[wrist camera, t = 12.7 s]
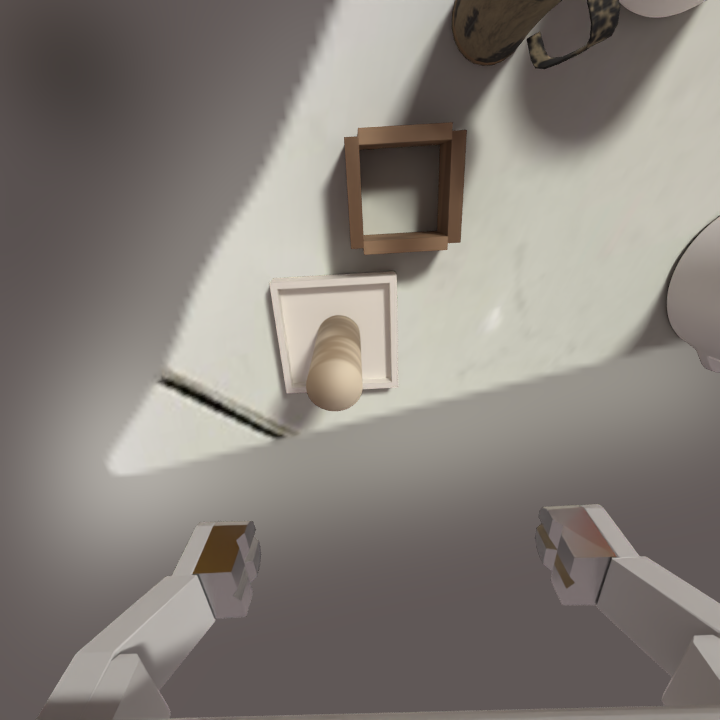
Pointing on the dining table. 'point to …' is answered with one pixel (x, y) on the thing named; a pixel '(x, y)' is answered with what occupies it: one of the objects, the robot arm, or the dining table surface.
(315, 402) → the dowel
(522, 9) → the mug
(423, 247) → the holder
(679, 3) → the cup
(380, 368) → the tray
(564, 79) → the dining table surface
